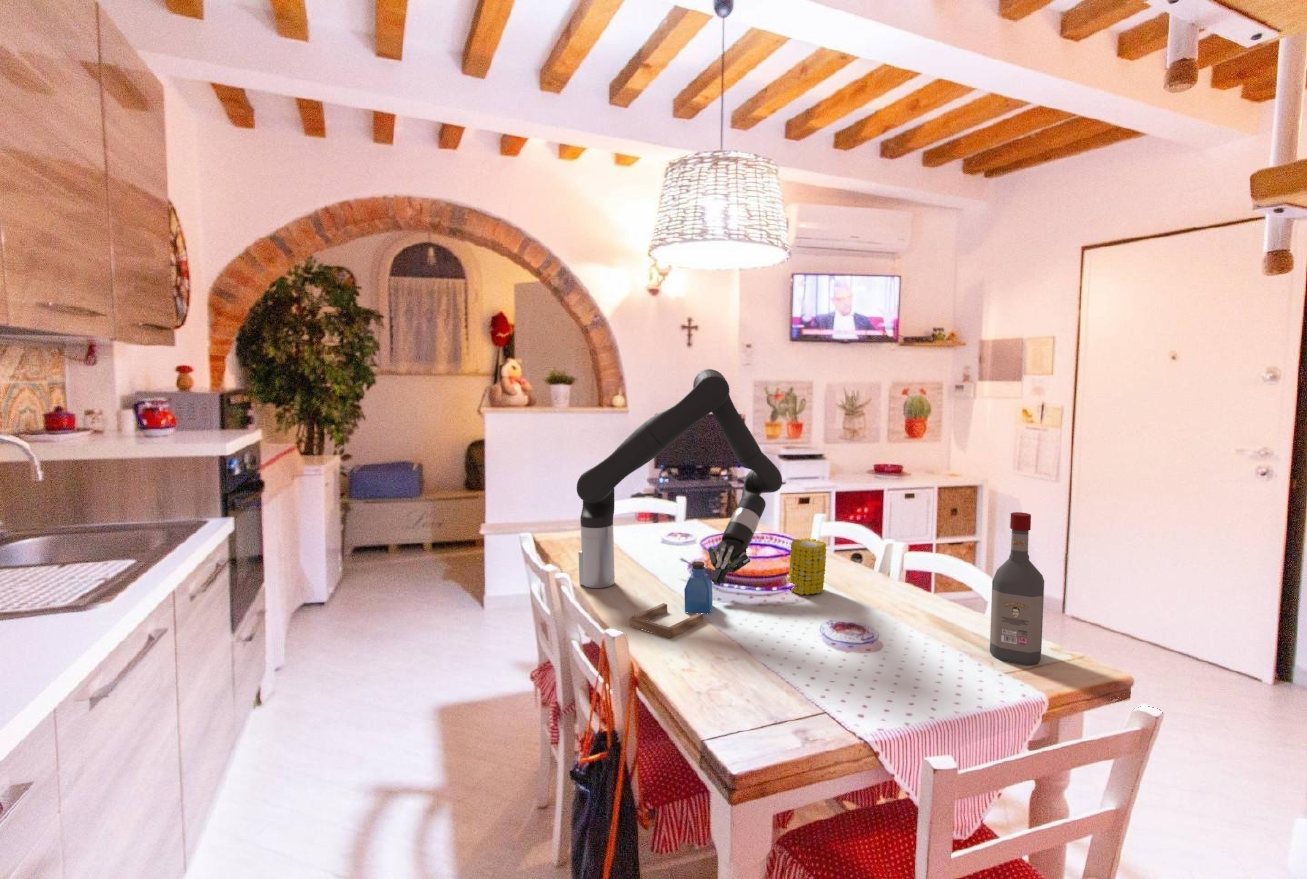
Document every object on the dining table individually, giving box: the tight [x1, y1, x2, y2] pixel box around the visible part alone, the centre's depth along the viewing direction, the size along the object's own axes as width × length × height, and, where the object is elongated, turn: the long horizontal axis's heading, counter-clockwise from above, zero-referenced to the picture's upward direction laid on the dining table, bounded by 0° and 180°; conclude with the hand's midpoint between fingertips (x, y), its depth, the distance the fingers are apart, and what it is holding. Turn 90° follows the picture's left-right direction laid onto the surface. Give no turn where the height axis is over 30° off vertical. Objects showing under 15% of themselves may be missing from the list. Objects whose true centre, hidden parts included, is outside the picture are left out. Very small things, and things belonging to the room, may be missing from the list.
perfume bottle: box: [683, 560, 713, 615], centre depth 172 cm, size 6×6×12 cm
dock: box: [628, 602, 704, 639], centre depth 163 cm, size 13×12×2 cm
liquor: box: [989, 511, 1045, 666], centre depth 140 cm, size 9×9×30 cm
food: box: [787, 537, 827, 596], centre depth 184 cm, size 15×12×10 cm
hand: (715, 583), depth 178 cm, fingers closed
